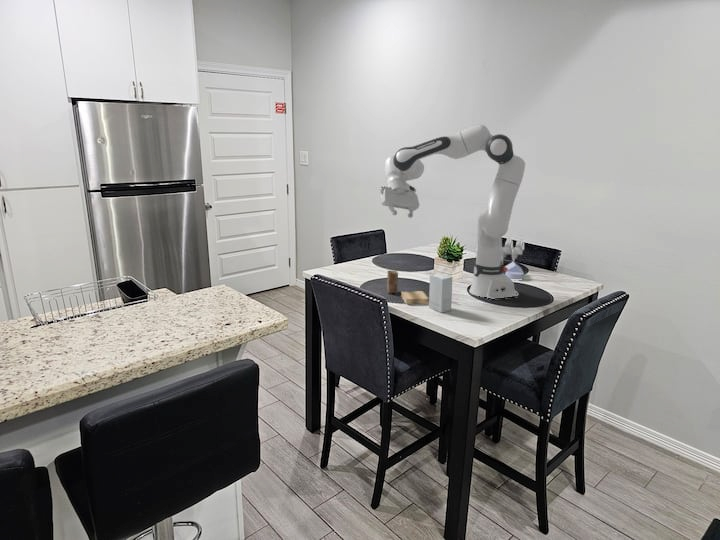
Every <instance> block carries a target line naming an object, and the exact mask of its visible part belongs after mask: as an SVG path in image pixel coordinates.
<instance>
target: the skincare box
mask: <svg viewBox="0 0 720 540" xmlns="http://www.w3.org/2000/svg"><path fill="white" fill-rule="evenodd" d="M428 291H429V295H428V298H429V303H428V308H430V309H432V310H434V311H437V312H438V313H441V314H443V313H447V312H450V311H451V310H452V298H453V276H451V275H447V274H443V273H440V272H438V273H437V272H436V273H433V274H430V275H429V290H428Z"/></svg>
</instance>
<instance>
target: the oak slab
mask: <svg viewBox="0 0 720 540" xmlns="http://www.w3.org/2000/svg"><path fill="white" fill-rule="evenodd" d="M401 297H402V298H401ZM400 298H401V299H402V301H403V300H404V301H403V302H404V304H405V303H406V304H414V305H429V296H427V294H426V293H425V292H424V291H423V290H417V291H415V290H413V291H412V290H411V291H408V290H407V291H403V290H402V291H401V292H400ZM406 304H405V305H406Z"/></svg>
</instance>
